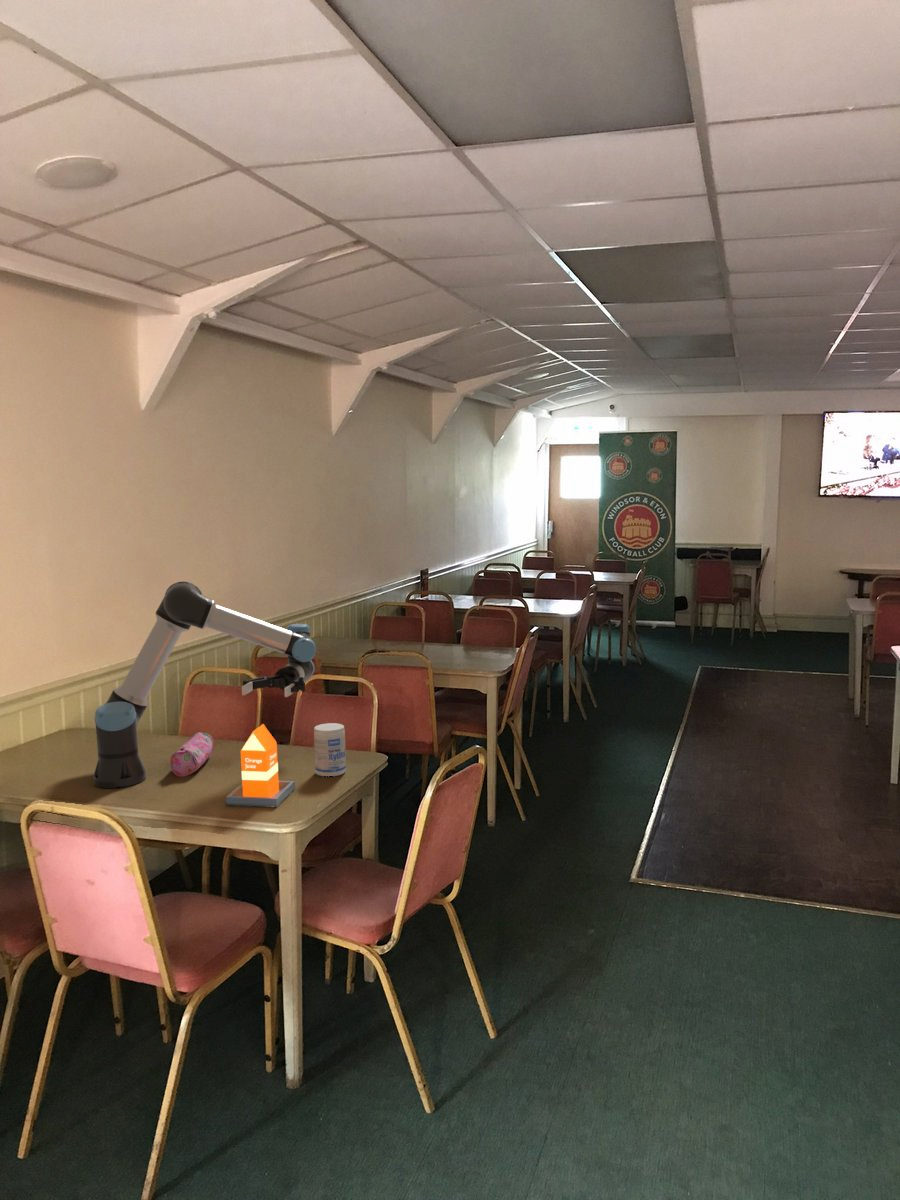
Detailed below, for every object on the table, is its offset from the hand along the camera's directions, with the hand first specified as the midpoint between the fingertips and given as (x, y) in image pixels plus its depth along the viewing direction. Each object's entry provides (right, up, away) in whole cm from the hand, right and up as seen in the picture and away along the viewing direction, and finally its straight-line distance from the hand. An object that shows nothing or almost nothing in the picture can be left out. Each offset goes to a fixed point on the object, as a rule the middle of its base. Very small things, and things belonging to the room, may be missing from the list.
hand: (264, 691), depth 277 cm
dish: (+2, -29, -12) cm, 32 cm away
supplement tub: (+19, -26, +9) cm, 34 cm away
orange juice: (+2, -29, -12) cm, 31 cm away
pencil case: (-26, -26, +18) cm, 41 cm away
